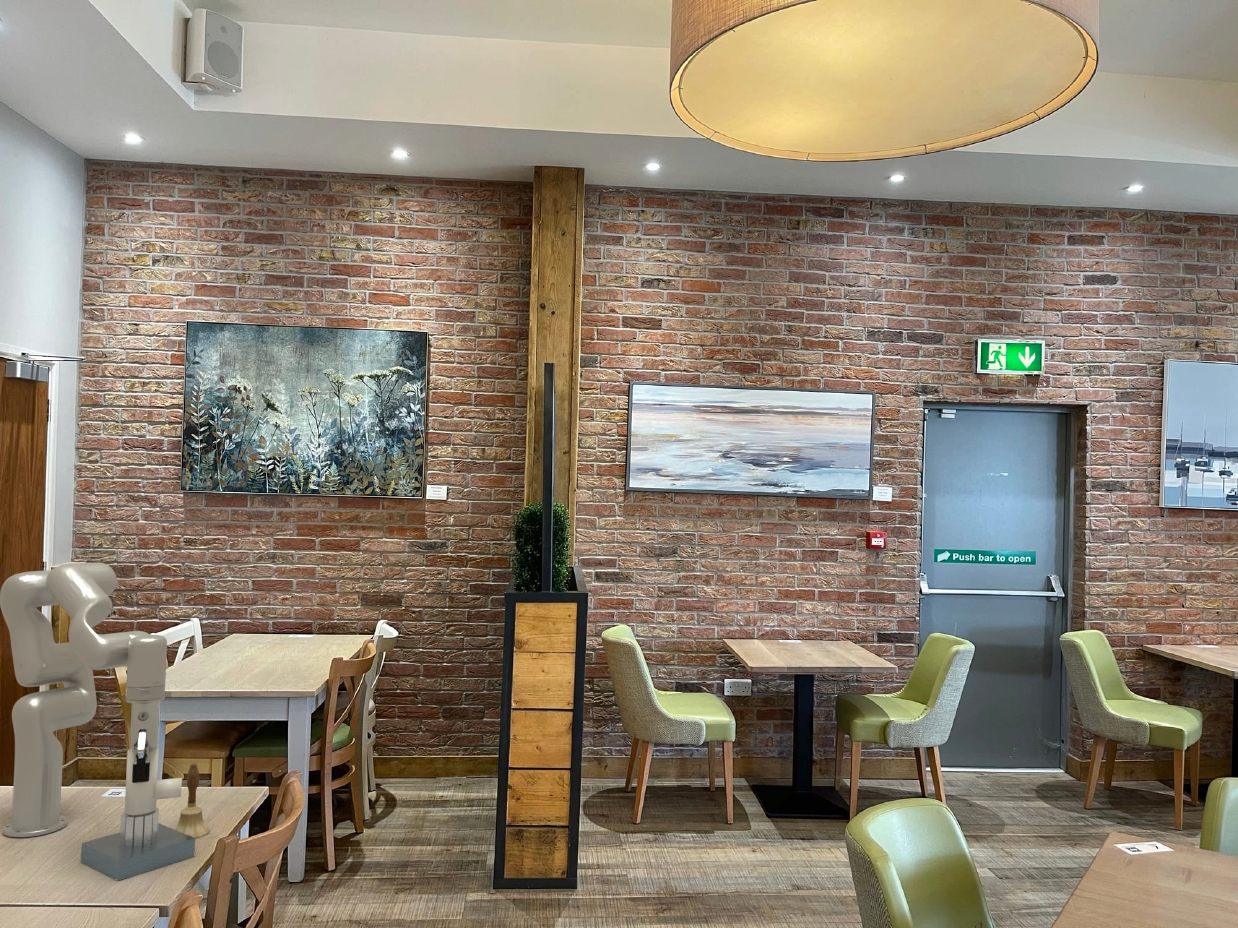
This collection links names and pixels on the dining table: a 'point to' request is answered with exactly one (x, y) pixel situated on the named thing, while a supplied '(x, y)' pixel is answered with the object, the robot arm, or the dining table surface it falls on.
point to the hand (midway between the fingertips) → (141, 776)
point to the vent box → (137, 847)
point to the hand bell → (192, 809)
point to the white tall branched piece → (148, 787)
